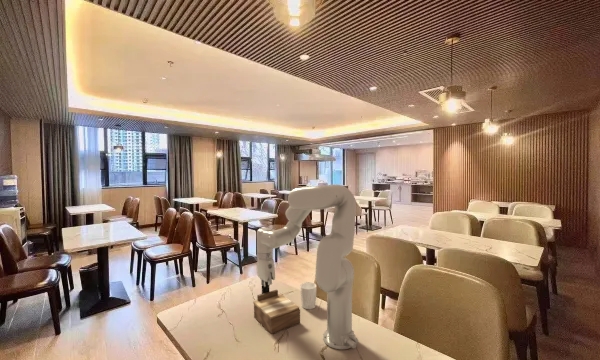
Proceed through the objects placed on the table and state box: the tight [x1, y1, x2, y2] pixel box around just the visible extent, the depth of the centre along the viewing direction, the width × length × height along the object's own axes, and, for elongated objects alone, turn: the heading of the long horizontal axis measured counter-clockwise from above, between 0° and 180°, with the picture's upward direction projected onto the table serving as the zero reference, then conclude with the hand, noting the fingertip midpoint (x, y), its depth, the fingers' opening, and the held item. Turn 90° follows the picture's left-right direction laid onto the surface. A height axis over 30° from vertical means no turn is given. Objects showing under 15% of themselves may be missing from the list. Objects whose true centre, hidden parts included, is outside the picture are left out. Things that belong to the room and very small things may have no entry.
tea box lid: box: [253, 289, 300, 319], centre depth 118 cm, size 16×14×3 cm
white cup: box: [299, 281, 318, 310], centre depth 131 cm, size 8×8×10 cm
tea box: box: [253, 303, 301, 336], centre depth 118 cm, size 16×14×6 cm
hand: (265, 293), depth 126 cm, fingers closed
